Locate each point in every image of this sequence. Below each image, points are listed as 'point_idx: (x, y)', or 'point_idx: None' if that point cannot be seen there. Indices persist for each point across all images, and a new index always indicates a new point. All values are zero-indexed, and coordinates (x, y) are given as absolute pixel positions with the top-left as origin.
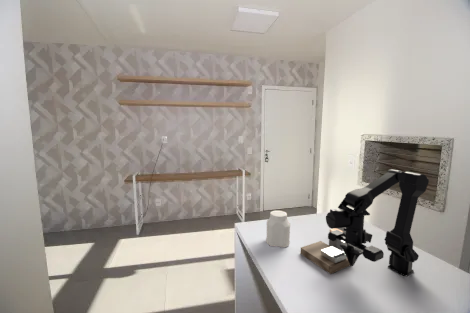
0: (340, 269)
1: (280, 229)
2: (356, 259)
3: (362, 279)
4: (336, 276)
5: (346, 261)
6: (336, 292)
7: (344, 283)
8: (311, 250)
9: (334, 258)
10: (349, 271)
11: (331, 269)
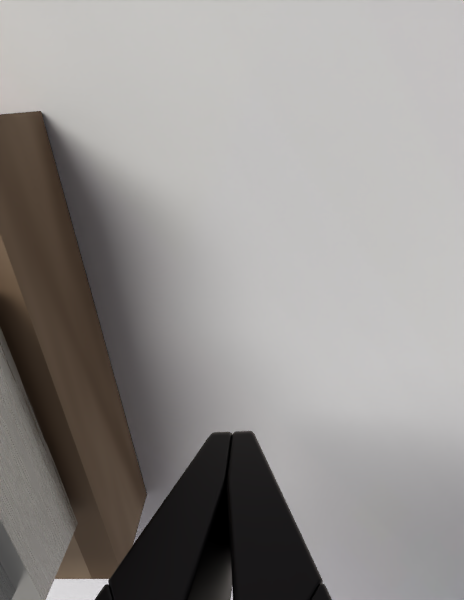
0: (108, 366)
1: None
2: (309, 569)
3: (361, 276)
4: None
5: (37, 301)
6: (349, 595)
7: (305, 486)
8: None
9: (31, 598)
10: (169, 289)
11: (130, 534)
